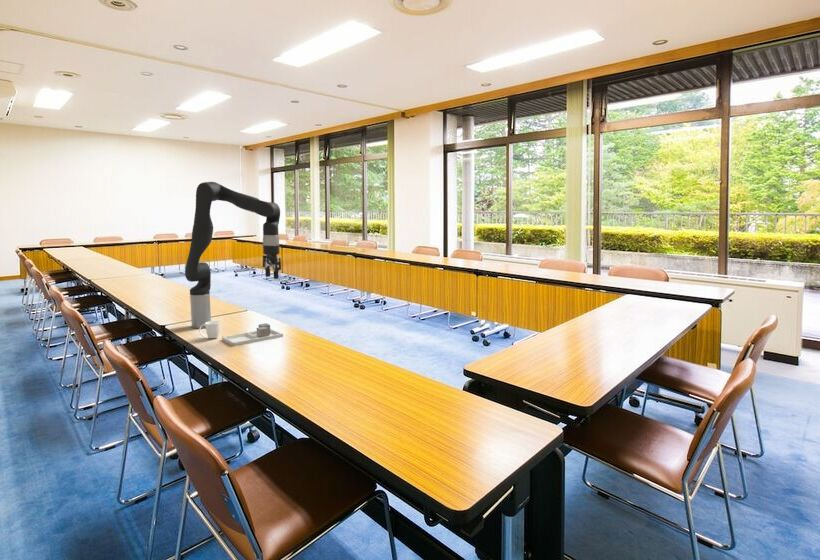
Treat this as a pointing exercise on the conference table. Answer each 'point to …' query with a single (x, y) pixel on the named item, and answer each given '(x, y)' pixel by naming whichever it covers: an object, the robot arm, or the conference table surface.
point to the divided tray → (249, 337)
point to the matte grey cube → (265, 326)
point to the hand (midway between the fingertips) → (272, 277)
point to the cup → (211, 329)
